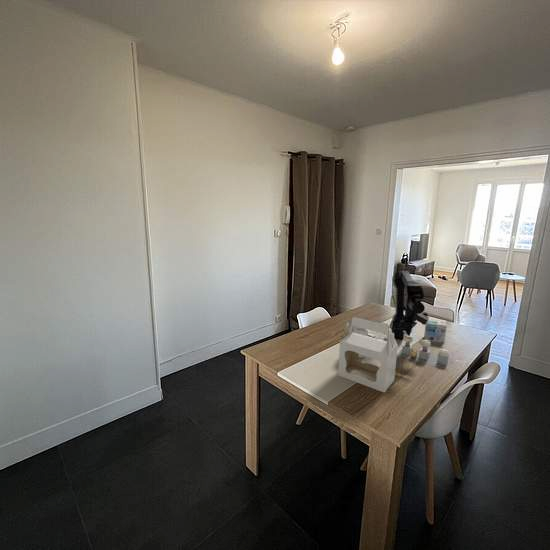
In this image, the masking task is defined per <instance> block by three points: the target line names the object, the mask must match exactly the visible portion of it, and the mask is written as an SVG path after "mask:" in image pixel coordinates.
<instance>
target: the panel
mask: <svg viewBox="0 0 550 550" xmlns="http://www.w3.org/2000/svg"><path fill="white" fill-rule="evenodd" d="M405 345H406V343H403V344H402V347H401V349H400V350H399V352H397V356H398V357H401V358H403V359H407V360H411V361H415V362H419V363H422V364H426V365H430V366H432V367H435V368H436V367H437V368H440V369H443V370H447V371H448V370H450V366H451V364H452V361H453V360H452V358H451V359H450V358H449V356H450V355H449V356H448V357H442V356H440V355H439V353H438V355H435V354H432V353H431V350H430V349H428V348H427V352H425V351H423V347H420V349H419V350H417V359H411V358H410V355H411V350H414V349H413V344H412V345H411V344H410V346H409V347H406V346H405Z"/></svg>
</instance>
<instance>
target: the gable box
mask: <svg viewBox="0 0 550 550" xmlns="http://www.w3.org/2000/svg"><path fill="white" fill-rule="evenodd" d="M345 327H346V329H345V331H344V333H343V334H342V337H341V339H340V340H339V354H338V355H339V356H338V369H337V370H338V371H337V372H338V373H337V376H338V377H341V378H344V379H347V380H349V381H352V382H354V383H358V384H360V385H363V386H365V387H368V388H371V389H374V390H376V391H379V392H382V393H384V394H385V393H386V392H387V390H388V389H389V388H390V386H391V385H392V383H393V382H394V381H395V378H396V377H395V376H396V366H397V354H398V346H399V344H398V343H397V341H396V340H397V339H395V338H394V333H392V332H391V331H392V330H390V324H388V323H383V322H379V321H376V320H372V319H366V318H363V317H357V316H353V317H352V319H351V322H350V321H347V322H346V326H345ZM355 327H359V328H363V329H367V330H368V331H371V332H374V333H375V332H376V333H380V334H383V335H385V336H386V340H383V339H381V338H376V337H375V338H374V337H371V336H369V335H368V336H365V335H361V334H357V333H354V328H355ZM359 354H360V355H362V356H365V358H370V359H374V360H377V361H378V362H379V363H380V366H377V365H375V364H373V363H369V362H362V361H360V360H359V357H358V355H359Z"/></svg>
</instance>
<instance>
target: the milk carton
mask: <svg viewBox="0 0 550 550" xmlns="http://www.w3.org/2000/svg"><path fill="white" fill-rule="evenodd" d="M353 333H357V334H361V335H365V336H368V337H369V330H367V329H363V328H359V327H355V326H354V327H353ZM359 358H360V359H365V358H366V357H365V356H362V355H360V354H359V355H358V359H359Z"/></svg>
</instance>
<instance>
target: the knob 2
mask: <svg viewBox="0 0 550 550" xmlns="http://www.w3.org/2000/svg"><path fill="white" fill-rule="evenodd" d="M438 354H439V355H440V356H442V357H448V356H450V352H449V350H447V349H444V348H443V349H441V348H440V349H439V350H438ZM448 358H449V357H448Z"/></svg>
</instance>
